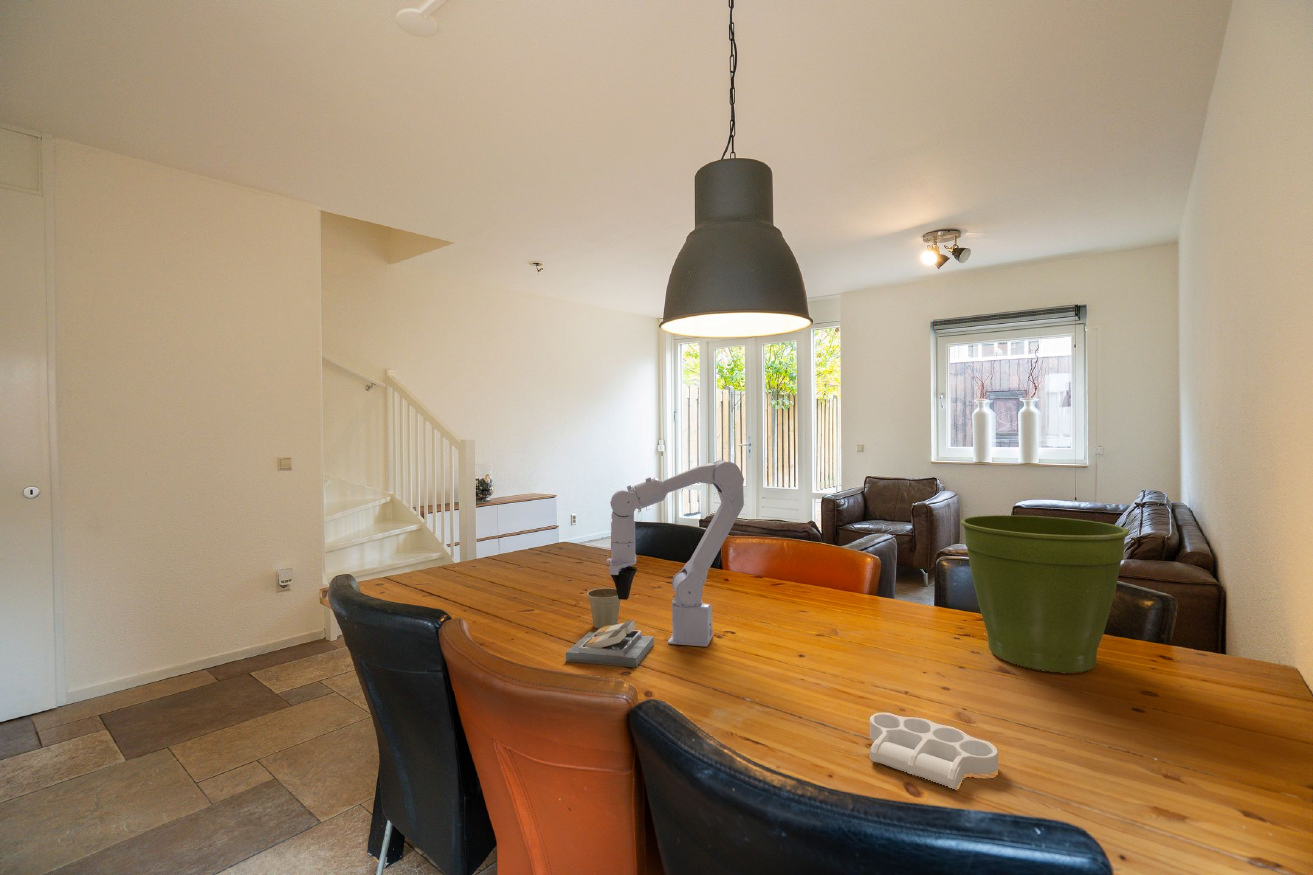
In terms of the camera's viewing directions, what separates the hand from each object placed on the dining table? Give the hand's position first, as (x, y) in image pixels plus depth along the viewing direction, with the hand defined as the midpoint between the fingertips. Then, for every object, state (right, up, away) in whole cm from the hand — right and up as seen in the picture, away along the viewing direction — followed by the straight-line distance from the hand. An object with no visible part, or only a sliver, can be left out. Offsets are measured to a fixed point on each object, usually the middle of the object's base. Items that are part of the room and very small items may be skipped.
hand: (623, 598), depth 140 cm
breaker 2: (-2, -6, -3) cm, 7 cm away
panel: (-2, -10, -6) cm, 12 cm away
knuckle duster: (+48, -10, -52) cm, 71 cm away
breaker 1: (-3, -6, -10) cm, 12 cm away
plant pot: (+90, -9, -14) cm, 91 cm away
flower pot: (-5, -11, +13) cm, 18 cm away
